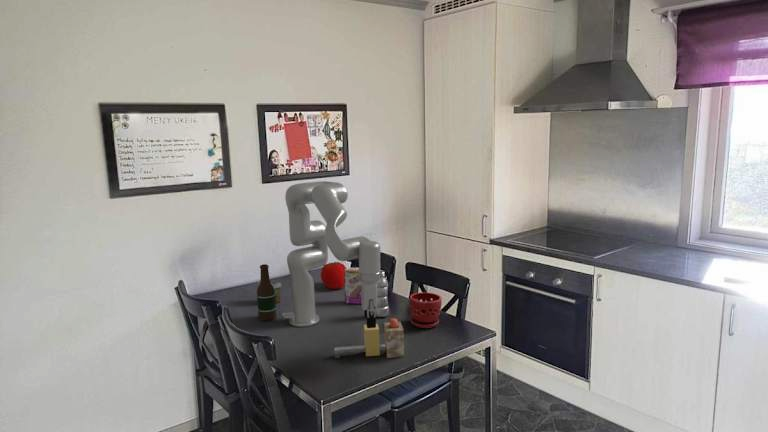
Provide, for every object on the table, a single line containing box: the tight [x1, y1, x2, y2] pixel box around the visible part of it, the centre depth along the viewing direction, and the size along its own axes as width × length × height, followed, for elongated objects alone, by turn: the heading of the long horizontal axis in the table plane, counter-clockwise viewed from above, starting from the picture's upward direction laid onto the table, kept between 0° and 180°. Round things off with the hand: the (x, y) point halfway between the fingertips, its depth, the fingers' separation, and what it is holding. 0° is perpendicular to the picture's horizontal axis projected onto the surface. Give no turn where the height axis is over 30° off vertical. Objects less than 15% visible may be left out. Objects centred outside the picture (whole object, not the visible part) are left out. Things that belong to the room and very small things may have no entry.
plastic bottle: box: [375, 269, 390, 318], centre depth 217 cm, size 6×7×20 cm
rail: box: [334, 343, 386, 359], centre depth 182 cm, size 19×2×3 cm, turn 97°
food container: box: [256, 279, 282, 305], centre depth 237 cm, size 12×6×10 cm, turn 68°
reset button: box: [389, 317, 398, 328], centre depth 182 cm, size 3×3×4 cm
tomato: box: [320, 261, 347, 290], centre depth 258 cm, size 16×14×14 cm
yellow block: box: [363, 323, 381, 357], centre depth 182 cm, size 5×5×10 cm
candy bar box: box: [344, 267, 362, 305], centre depth 235 cm, size 11×5×16 cm, turn 84°
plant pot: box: [408, 291, 443, 329], centre depth 208 cm, size 13×13×12 cm
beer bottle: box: [256, 263, 277, 323], centre depth 217 cm, size 8×8×24 cm
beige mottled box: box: [383, 321, 405, 359], centre depth 182 cm, size 6×8×10 cm
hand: (369, 321), depth 181 cm, fingers open, 9 cm apart
